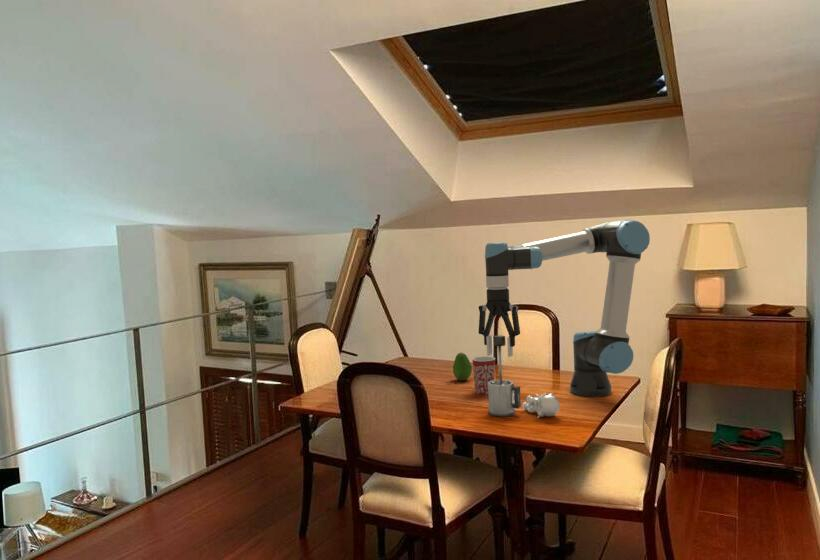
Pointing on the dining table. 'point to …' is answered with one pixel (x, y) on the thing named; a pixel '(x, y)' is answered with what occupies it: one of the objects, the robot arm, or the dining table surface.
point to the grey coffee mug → (503, 398)
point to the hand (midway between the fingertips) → (499, 355)
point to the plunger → (499, 355)
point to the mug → (483, 373)
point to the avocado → (462, 367)
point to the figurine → (542, 404)
